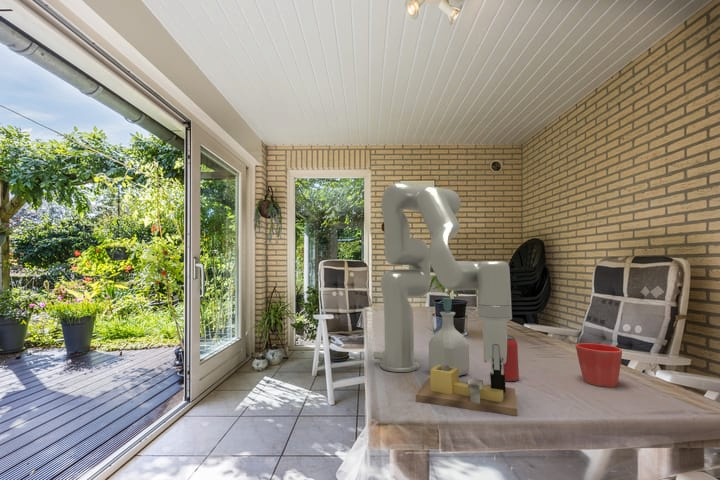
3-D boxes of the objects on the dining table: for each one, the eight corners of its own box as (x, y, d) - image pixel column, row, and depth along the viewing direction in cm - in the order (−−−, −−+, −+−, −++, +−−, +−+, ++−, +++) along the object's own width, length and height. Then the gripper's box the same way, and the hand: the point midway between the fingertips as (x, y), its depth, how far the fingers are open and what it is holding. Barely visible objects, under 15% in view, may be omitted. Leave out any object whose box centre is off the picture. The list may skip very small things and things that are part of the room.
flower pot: (618, 379, 97) (616, 344, 98) (629, 391, 87) (626, 352, 88) (575, 374, 102) (573, 341, 103) (581, 386, 92) (578, 349, 93)
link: (430, 390, 84) (430, 369, 85) (438, 384, 89) (438, 364, 89) (499, 404, 75) (498, 381, 76) (504, 397, 80) (503, 375, 80)
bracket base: (415, 401, 81) (415, 371, 82) (428, 383, 94) (427, 357, 95) (517, 416, 73) (515, 382, 74) (515, 394, 86) (514, 365, 86)
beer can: (514, 375, 101) (512, 334, 102) (522, 382, 95) (520, 338, 96) (491, 374, 102) (489, 334, 103) (498, 382, 95) (496, 338, 97)
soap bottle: (426, 372, 105) (424, 297, 107) (448, 367, 110) (446, 296, 112) (450, 380, 97) (447, 299, 99) (472, 374, 102) (470, 298, 104)
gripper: (479, 308, 91) (482, 380, 89) (476, 315, 77) (479, 399, 75) (510, 309, 88) (514, 383, 86) (512, 316, 74) (517, 404, 72)
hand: (498, 390), depth 81 cm, fingers closed
